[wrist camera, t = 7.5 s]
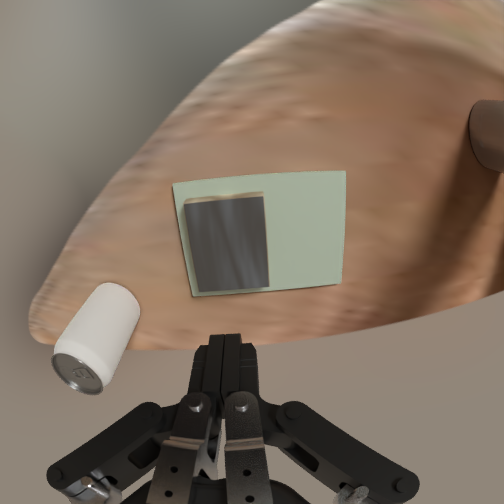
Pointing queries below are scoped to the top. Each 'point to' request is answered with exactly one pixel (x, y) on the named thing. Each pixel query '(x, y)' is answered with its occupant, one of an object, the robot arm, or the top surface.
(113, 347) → the can
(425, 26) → the top surface
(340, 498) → the robot arm
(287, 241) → the mat
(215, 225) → the tile
